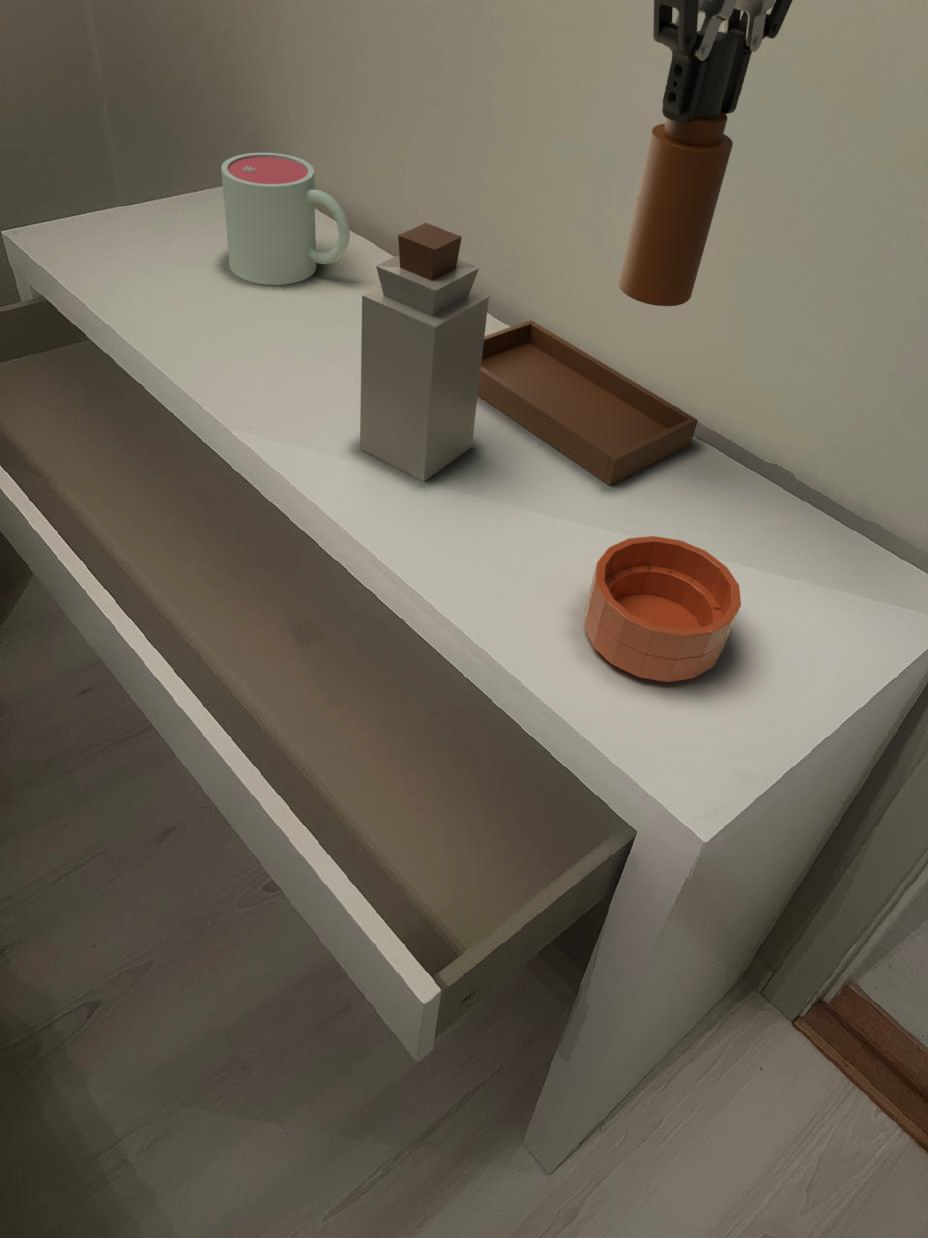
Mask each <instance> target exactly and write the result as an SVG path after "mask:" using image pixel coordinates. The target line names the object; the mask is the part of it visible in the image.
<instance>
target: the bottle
mask: <svg viewBox="0 0 928 1238" xmlns="http://www.w3.org/2000/svg"><path fill="white" fill-rule="evenodd" d="M699 32H700V30H697V34H699ZM737 44H738V38H737V37H735V36H733V35H731V34H728V33H724V32H722V31H719V30H718V32H717V35H716V38H715V40H714V43H713V46H712V48H711V51H710V53H709V55H708V57H707V58H706V59H705V60H707V61H708V64H707V69H706V73H705V77H704V81H703V85H702V89H701V93H700V97H699V101H698V105H697V109H696V114H695V117H694V119H693V121H691V122H688V123H684V124H681V123H678V122H676V121H673V120H670V119H668V118H666V117H665V123H660V124H657V125H655V126H654V127H652V129H651V132H650V136H649V137H650V138H649V141H648V147H647V151H646V155H645V161H644V165H643V170H642V173H641V178H640V183H639V189H638V193H637V197H636V202H635V207H634V212H633V216H632V220H631V225H630V230H629V234H628V239H627V243H626V248H625V253H624V258H623V262H622V267H621V271H620V275H619V276H620V277H619V281H618V287H619V289H620V290H621V291H622V293H623V294H624V295H625V296H627V297H629V298H631V299H633V300H635V301H636V302H640V303H643V304H647V305H651V306H658V307H675V306H681V305H684V304H686V303H687V302H689V300H690V299H691V298H692V294H693V291H694V287H695V284H696V280H697V276H698V272H699V270H700V266H701V262H702V258H703V254H704V251H705V248H706V244H707V240H708V236H709V232H710V230H711V225H712V223H713V218H714V214H715V211H716V208H717V204H718V199H719V197H720V192H721V190H722V185H723V182H724V178H725V174H726V172H727V167H728V164H729V161H730V160H729V159H730V157H731V152H732V149H733V144H734V142H733V140H732V138H731V137H729V136H728V135H726V134H725V130H726V125H727V122H728V114H725V113H723V112H722V111H720V110H721V106H722V102H723V98H724V94H725V91H726V87H727V83H728V79H729V75H730V71H731V68H732V64H733V60H734V56H735V52H736V48H737Z"/></svg>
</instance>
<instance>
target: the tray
mask: <svg viewBox="0 0 928 1238" xmlns="http://www.w3.org/2000/svg"><path fill="white" fill-rule="evenodd" d="M478 397H479V398H481V399H482V400H484V401H485V402H487V403H488V404H490V405H491V406H493V407H494V408H495V409H497V410H498V411H500V412H501V413H502V414H504V415H505V416H507V417H508V418H510V419H511V420H513V421H514V422H516V424H519V425H520V426H522V427H523V428H525V429H526V430H528V432H530V433H532V434H533V435H535V436H536V437H538V438H539V439H541V440H542V441H544V442H545V443H547V444H548V445H549V446H551V447H553V448H554V449H555V450H557V451H558V452H560V453H561V454H563V455H564V456H565V457H567V458H569V459H570V460H571V461H572V462H574V463H576V464H578V465H579V466H580V467H581V468H583V469H584V470H586V471H587V472H589V473H591V474H592V475H593V476H595V477H596V478H598V479H599V480H600V481H602V482H603V483H605V484H607V485H608V486H612V485H614V484H616V483H618V482H619V481H621V480H623V479H626V478H627V477H629V476H631V475H633V474H636V473H637V472H639V471H641V470H643V469H645V468H647V467H649V466H651V465H653V464H655V463H657V462H659V461H661V460H663V459H665V458H667V457H669V456H671V455H672V454H673V455H674V454H675V453H677V452H679V451H681V450H683V449H685V448H687V447H689V446H691V444H692V441H693V437H694V435H695V431H696V428H697V425H698V421H699V420H698V419H697V418H695V417H693V415H690V414H689V413H687V412H686V411H684V410H682V409H681V408H679V407H677V406H676V405H673V404H672V403H670V402H669V401H667V400H665V399H664V398H662V397H661V396H659V395H657V394H655V393H654V392H652V391H651V390H649V389H647V388H645V387H644V386H642V385H641V384H638V383H637V382H636V381H634V380H632V379H630V378H629V377H627V376H625V375H624V374H623V373H620V372H619V371H617V370H615V369H614V368H612V367H610V366H609V365H607V364H606V363H603V362H602V361H601V360H598V359H597V358H596V357H593V356H592V355H590V354H589V353H587V352H585V351H584V350H582V349H580V348H578V347H577V346H576V345H574V344H572V343H570V342H568V341H567V340H565V339H563V338H562V337H560V336H558V335H557V334H555V333H553V332H551V331H550V330H549V329H547V328H546V327H543V326H541V325H540V324H539V323H536V322H535V321H533V320H532V319H529V320H527V321H524V322H521V323H517V324H515V325H512V326H510V327H507V328H504V329H501V330H498V331H495V332H492V333H489V334H487V335H486V334H485V336H484V344H483V353H482V362H481V371H480V379H479V388H478Z"/></svg>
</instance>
